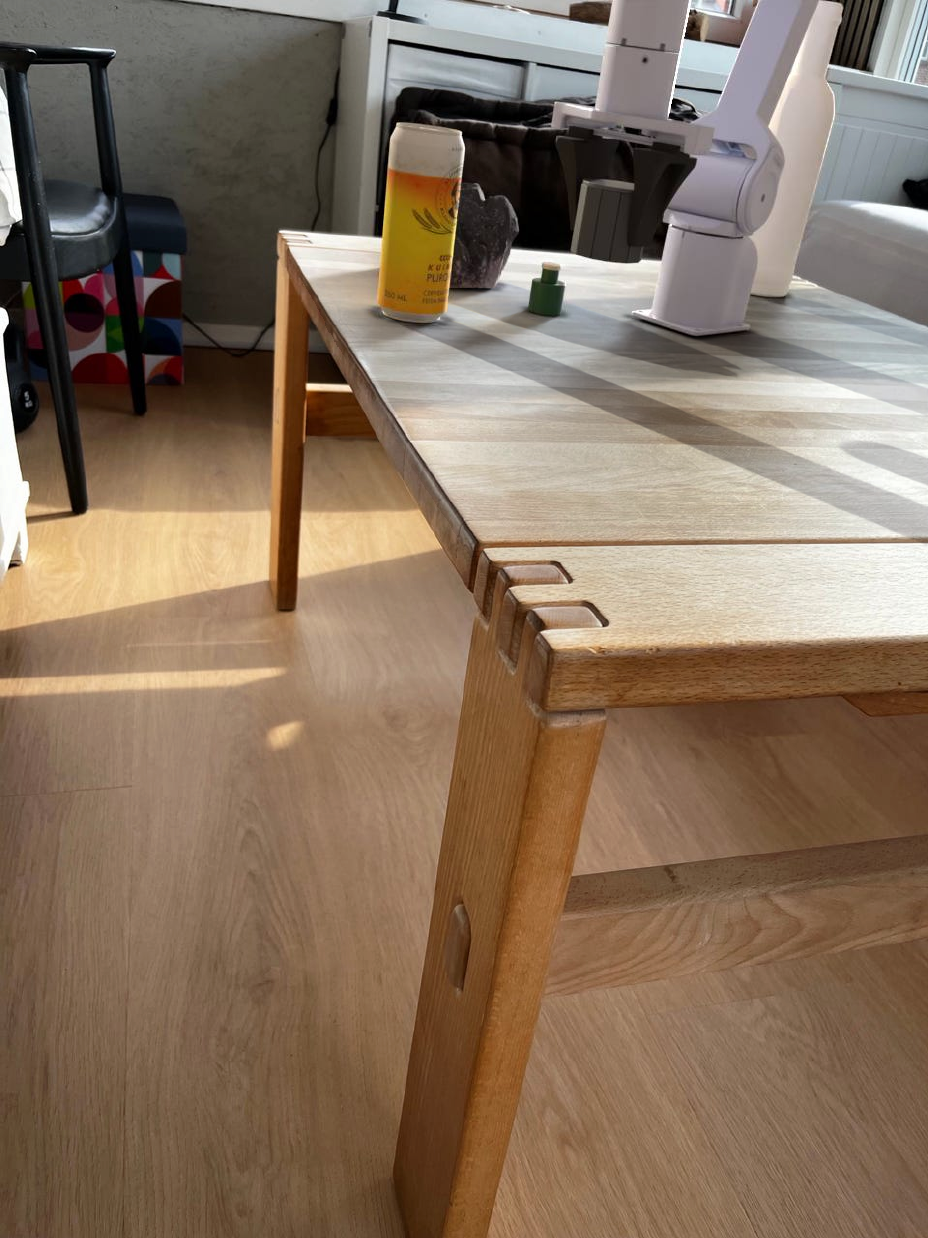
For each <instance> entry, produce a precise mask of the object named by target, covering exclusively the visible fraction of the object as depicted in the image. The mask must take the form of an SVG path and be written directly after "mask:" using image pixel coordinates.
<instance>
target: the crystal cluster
mask: <svg viewBox="0 0 928 1238" xmlns="http://www.w3.org/2000/svg"><path fill="white" fill-rule="evenodd" d="M519 230H520V229H519V223H518V217H517V215H516V212H515V210H514V207H513V206H512V204H511V202H510V201H509V199H508V198H507V197H506V196H505V195H500V194H497V195H495V196H492V195H490V196H489V197H487V198H486V199H485V195H484V191H483V190H482V189H481V186H480V184H479V183H471V182H461V188H460V196H459V205H458V214H457V223H456V232H455V240H454V249H453V258H452V267H451V276H450V285H449V289H467V288H469V289H476V288H478V289H495V288H496V285H497V284H498V282H499V280H500V278H501V275H502V272H503V270H504V269H505V267H506V264H507V263H508V261H509V258H510V256H511V252H512V243H513V241H514V240H515V238H516V237H517V236H518V233H519V232H520V231H519Z"/></svg>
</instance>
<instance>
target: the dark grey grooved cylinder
mask: <svg viewBox="0 0 928 1238" xmlns="http://www.w3.org/2000/svg"><path fill="white" fill-rule="evenodd" d="M633 198H634V182H626V181H620V180H614V179H613V180H612V179H606V178H605V179H593V178H587V179H583V183H582V185H581V191H580V197H579V203H578V209H577V215H576V221H575V227H574V231H573V235H572V241H571V246H570V252H571V253H573V254H574V255H576V256H579V257H583V258H586V259H589V260H595V261H601V262H607V263H615V264H640V262H641V261H642V257H643V251H644V247H632V246H628V230H629V224H630V218H631V212H632V206H633Z"/></svg>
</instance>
